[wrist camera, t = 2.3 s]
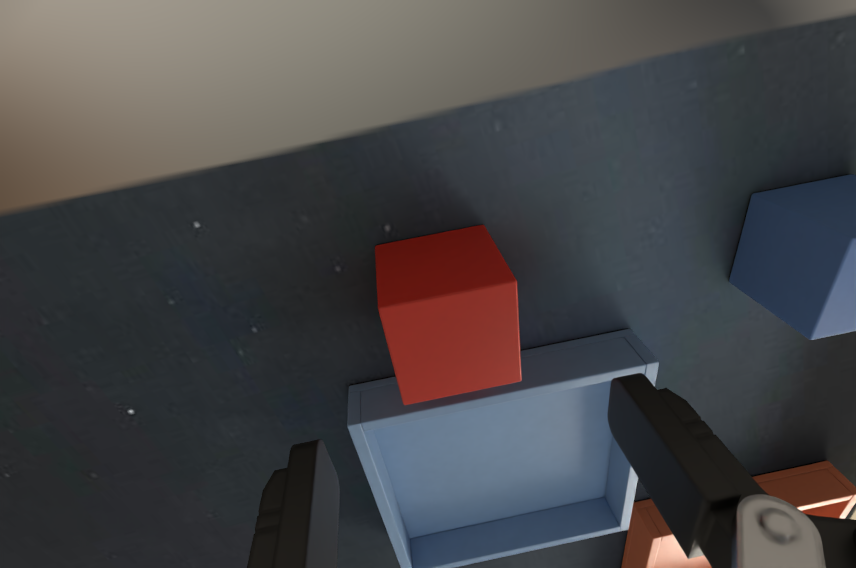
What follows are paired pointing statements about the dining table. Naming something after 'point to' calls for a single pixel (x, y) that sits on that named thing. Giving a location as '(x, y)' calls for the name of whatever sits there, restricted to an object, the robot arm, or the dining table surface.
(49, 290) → the dining table surface
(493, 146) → the dining table surface
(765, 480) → the orange tray
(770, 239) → the blue block
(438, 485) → the blue tray
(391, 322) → the red block
